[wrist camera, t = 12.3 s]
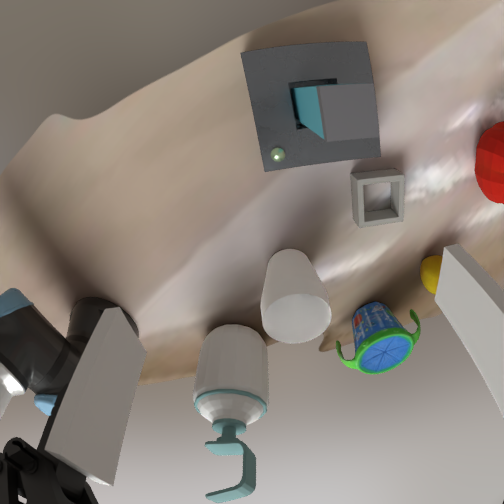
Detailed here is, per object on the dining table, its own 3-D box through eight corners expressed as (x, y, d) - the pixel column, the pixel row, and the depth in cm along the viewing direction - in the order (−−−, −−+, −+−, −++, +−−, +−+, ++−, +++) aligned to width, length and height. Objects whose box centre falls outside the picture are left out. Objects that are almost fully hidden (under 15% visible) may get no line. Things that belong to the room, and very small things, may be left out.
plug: (295, 118, 34) (327, 142, 19) (290, 88, 32) (319, 86, 17) (327, 115, 33) (379, 137, 19) (322, 84, 31) (373, 83, 17)
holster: (353, 218, 42) (359, 228, 39) (350, 173, 38) (357, 180, 35) (395, 212, 41) (403, 221, 38) (395, 168, 37) (404, 174, 35)
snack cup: (406, 281, 48) (429, 320, 39) (407, 320, 53) (425, 357, 44) (325, 308, 51) (336, 352, 42) (335, 344, 56) (345, 385, 47)
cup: (302, 231, 43) (316, 280, 33) (326, 274, 47) (342, 327, 36) (248, 257, 45) (246, 311, 35) (276, 297, 49) (281, 352, 39)
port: (263, 160, 38) (264, 172, 33) (242, 58, 30) (240, 52, 25) (365, 147, 36) (381, 157, 31) (351, 47, 29) (367, 41, 24)
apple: (442, 269, 46) (462, 296, 39) (413, 281, 48) (432, 309, 41) (442, 241, 43) (465, 266, 36) (412, 252, 44) (433, 280, 38)
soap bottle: (193, 322, 53) (161, 488, 26) (258, 311, 51) (259, 492, 24) (215, 363, 59) (200, 505, 32) (273, 354, 57) (279, 505, 30)
